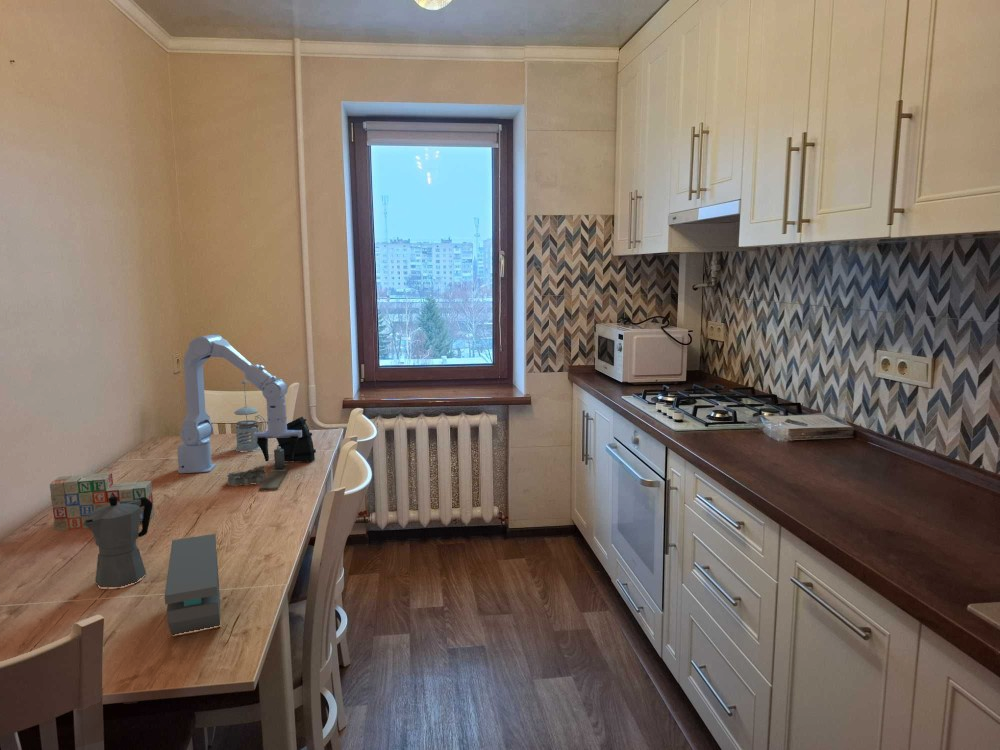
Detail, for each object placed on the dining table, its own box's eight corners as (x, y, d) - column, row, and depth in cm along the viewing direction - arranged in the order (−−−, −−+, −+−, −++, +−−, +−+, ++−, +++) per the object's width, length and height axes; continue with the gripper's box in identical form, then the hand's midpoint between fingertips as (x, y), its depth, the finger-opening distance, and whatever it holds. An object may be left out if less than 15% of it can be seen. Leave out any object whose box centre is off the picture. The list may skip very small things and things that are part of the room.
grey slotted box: (176, 592, 134) (172, 540, 132) (219, 584, 137) (215, 533, 135) (170, 657, 111) (164, 595, 109) (221, 646, 114) (216, 586, 112)
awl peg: (274, 469, 213) (273, 448, 212) (275, 467, 216) (274, 445, 215) (284, 469, 214) (283, 447, 213) (285, 466, 217) (284, 445, 216)
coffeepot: (109, 598, 131) (99, 510, 128) (75, 590, 135) (65, 504, 132) (173, 566, 145) (166, 486, 143) (141, 559, 149) (133, 481, 146)
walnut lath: (259, 490, 195) (259, 487, 195) (274, 467, 219) (274, 464, 218) (277, 489, 196) (277, 486, 196) (290, 466, 219) (290, 463, 219)
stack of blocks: (155, 514, 177) (150, 469, 175) (148, 522, 171) (144, 476, 169) (64, 522, 172) (58, 475, 170) (54, 531, 166) (48, 483, 164)
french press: (243, 444, 248) (238, 377, 244) (272, 445, 246) (268, 378, 242) (228, 451, 238) (223, 382, 234) (259, 452, 237) (255, 382, 233)
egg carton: (266, 478, 208) (266, 465, 208) (264, 485, 201) (263, 472, 200) (230, 480, 206) (229, 467, 205) (226, 488, 199) (225, 474, 198)
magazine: (320, 458, 223) (299, 417, 222) (287, 473, 225) (266, 434, 224) (324, 455, 227) (304, 415, 225) (291, 470, 229) (271, 431, 228)
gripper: (250, 422, 207) (253, 464, 210) (298, 420, 210) (301, 462, 212) (255, 417, 214) (257, 458, 216) (302, 415, 216) (304, 456, 219)
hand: (279, 459), depth 215 cm, fingers open, 7 cm apart
